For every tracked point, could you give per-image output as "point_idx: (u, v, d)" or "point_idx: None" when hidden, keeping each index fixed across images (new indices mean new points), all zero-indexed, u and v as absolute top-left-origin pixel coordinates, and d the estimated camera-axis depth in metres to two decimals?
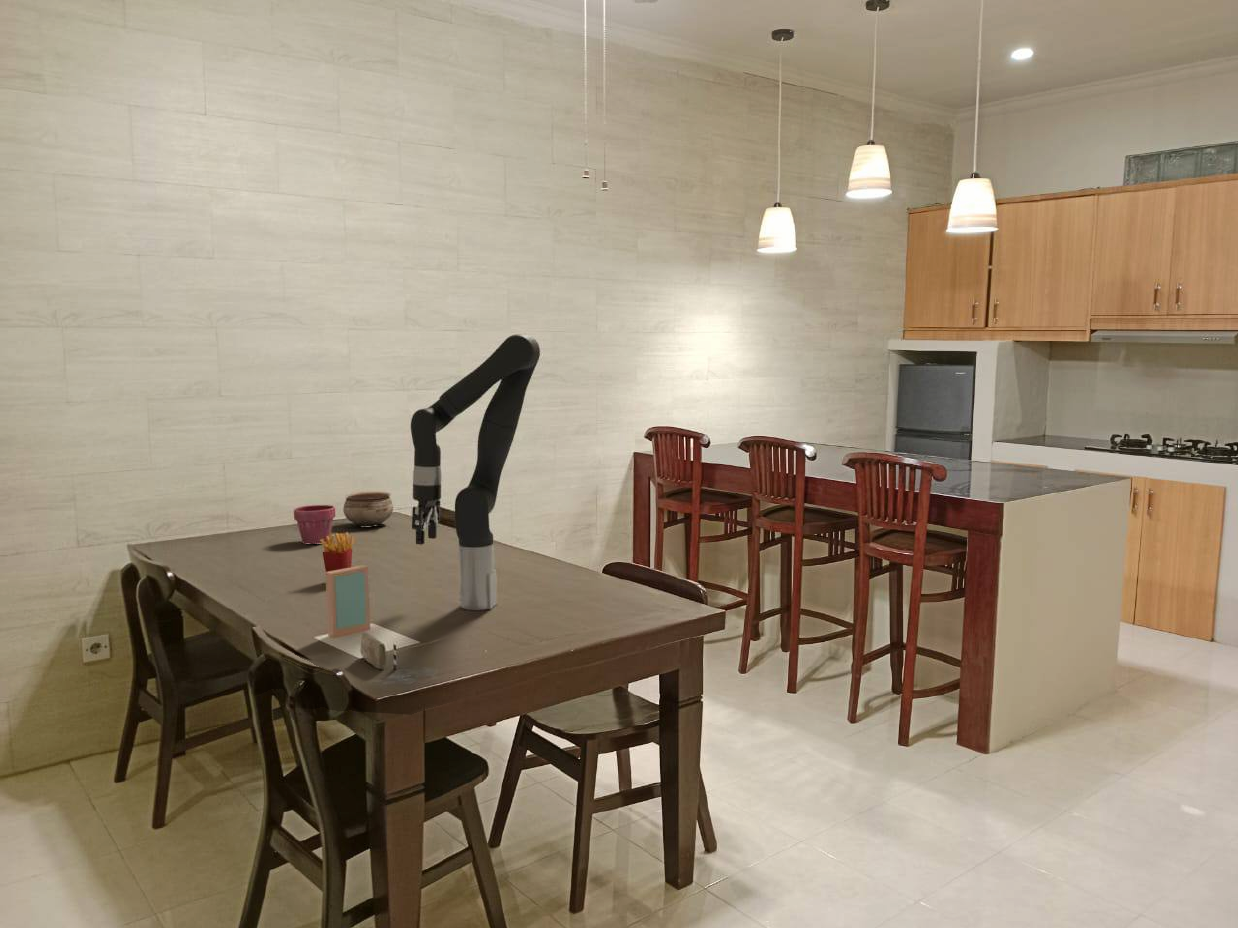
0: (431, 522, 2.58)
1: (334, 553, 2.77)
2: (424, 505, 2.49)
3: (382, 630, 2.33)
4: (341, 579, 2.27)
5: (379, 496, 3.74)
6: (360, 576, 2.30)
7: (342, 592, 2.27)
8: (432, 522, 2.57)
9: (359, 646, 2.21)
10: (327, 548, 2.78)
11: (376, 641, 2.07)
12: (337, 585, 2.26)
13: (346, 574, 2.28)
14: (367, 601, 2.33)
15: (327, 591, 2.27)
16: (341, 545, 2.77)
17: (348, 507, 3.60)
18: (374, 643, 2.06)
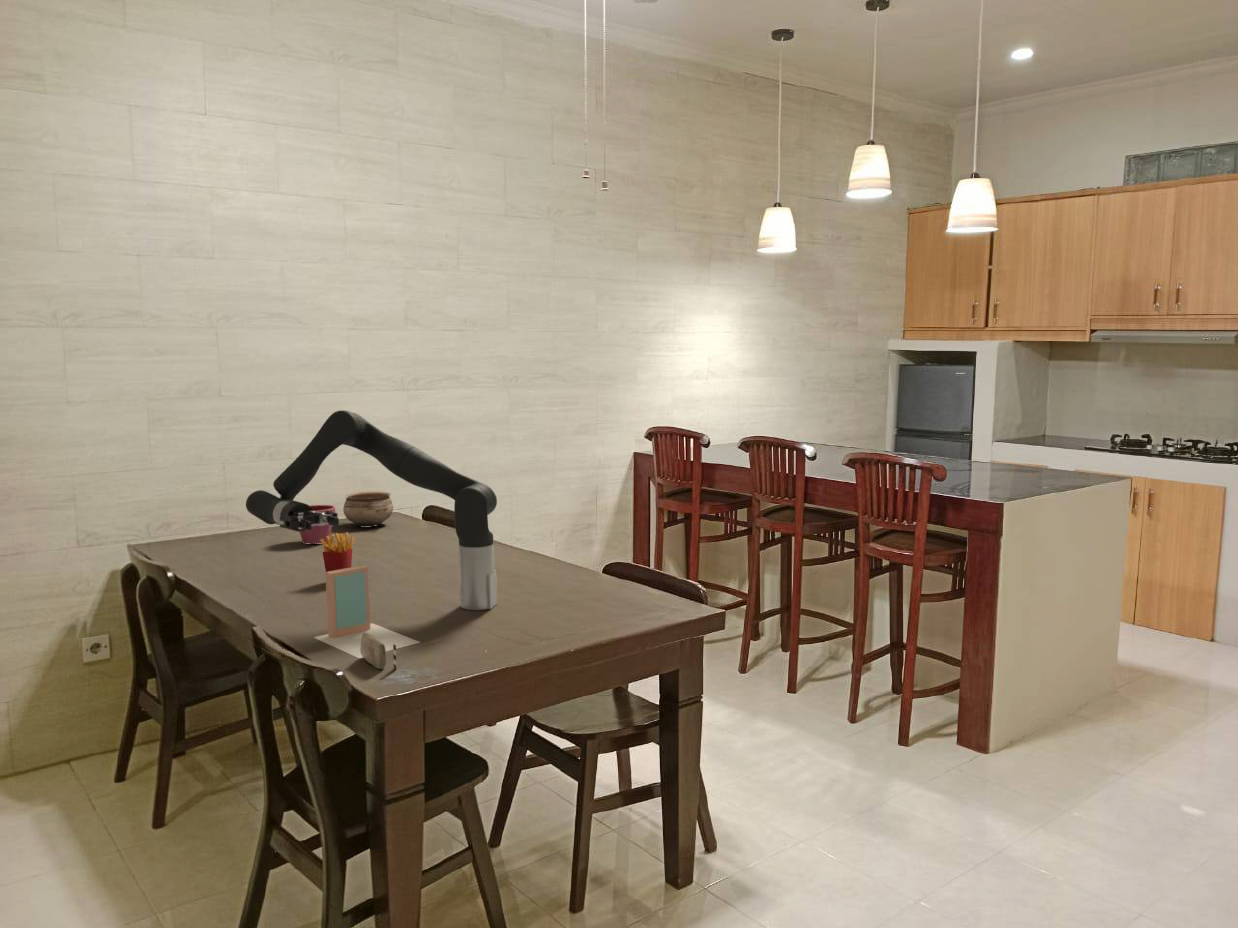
0: (327, 520, 2.41)
1: (334, 553, 2.77)
2: (289, 516, 2.40)
3: (382, 630, 2.33)
4: (341, 579, 2.27)
5: (379, 496, 3.74)
6: (360, 576, 2.30)
7: (342, 592, 2.27)
8: (327, 519, 2.41)
9: (359, 646, 2.21)
10: (327, 548, 2.78)
11: (376, 641, 2.07)
12: (337, 585, 2.26)
13: (346, 574, 2.28)
14: (367, 601, 2.33)
15: (327, 591, 2.27)
16: (341, 545, 2.77)
17: (348, 507, 3.60)
18: (374, 643, 2.06)
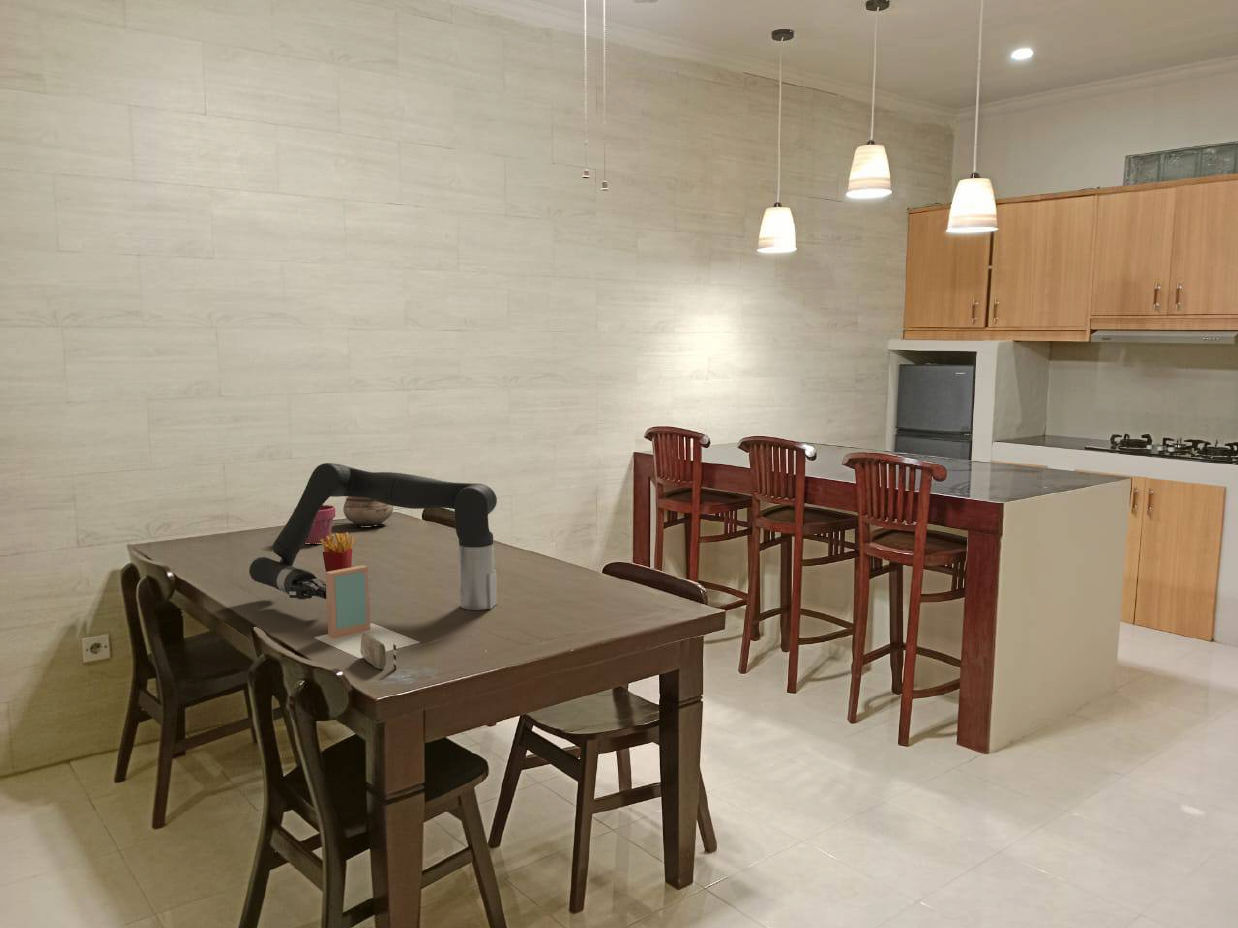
0: None
1: (334, 553, 2.77)
2: (292, 586, 2.42)
3: (382, 630, 2.33)
4: (341, 579, 2.27)
5: None
6: (360, 576, 2.30)
7: (342, 592, 2.27)
8: None
9: (359, 646, 2.21)
10: (327, 548, 2.78)
11: (376, 641, 2.07)
12: (337, 585, 2.26)
13: (346, 574, 2.28)
14: (367, 601, 2.33)
15: (327, 591, 2.27)
16: (341, 545, 2.77)
17: (348, 507, 3.60)
18: (374, 643, 2.06)
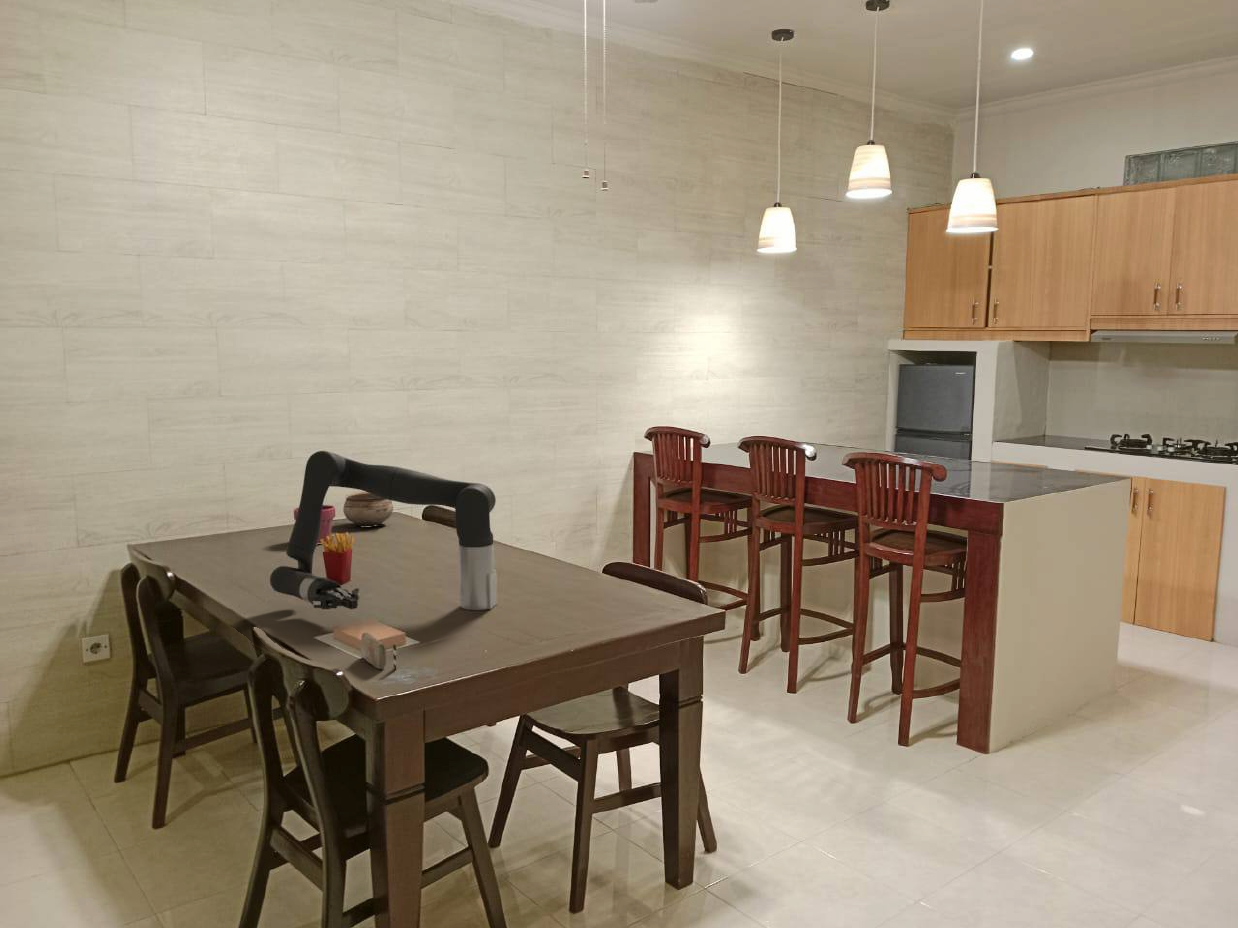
0: None
1: (334, 553, 2.77)
2: (317, 596, 2.33)
3: None
4: None
5: None
6: None
7: None
8: None
9: None
10: (327, 548, 2.78)
11: (376, 641, 2.07)
12: None
13: None
14: None
15: (357, 640, 2.18)
16: (341, 545, 2.77)
17: (348, 507, 3.60)
18: (374, 643, 2.06)
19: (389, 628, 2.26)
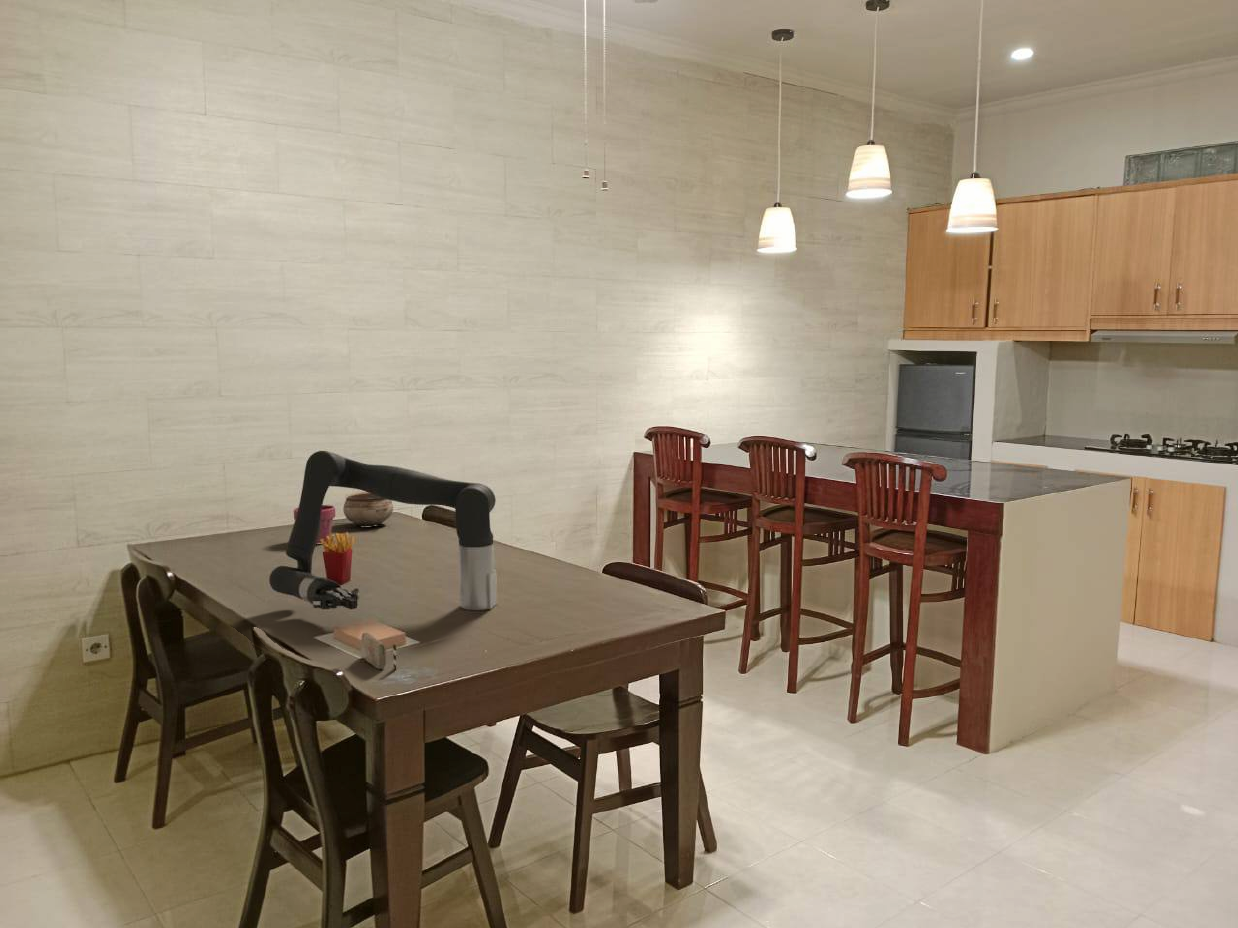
0: None
1: (334, 553, 2.77)
2: (316, 596, 2.33)
3: None
4: None
5: None
6: None
7: None
8: None
9: None
10: (327, 548, 2.78)
11: (376, 641, 2.07)
12: None
13: None
14: None
15: (357, 640, 2.18)
16: (341, 545, 2.77)
17: (348, 507, 3.60)
18: (374, 643, 2.06)
19: (389, 628, 2.26)
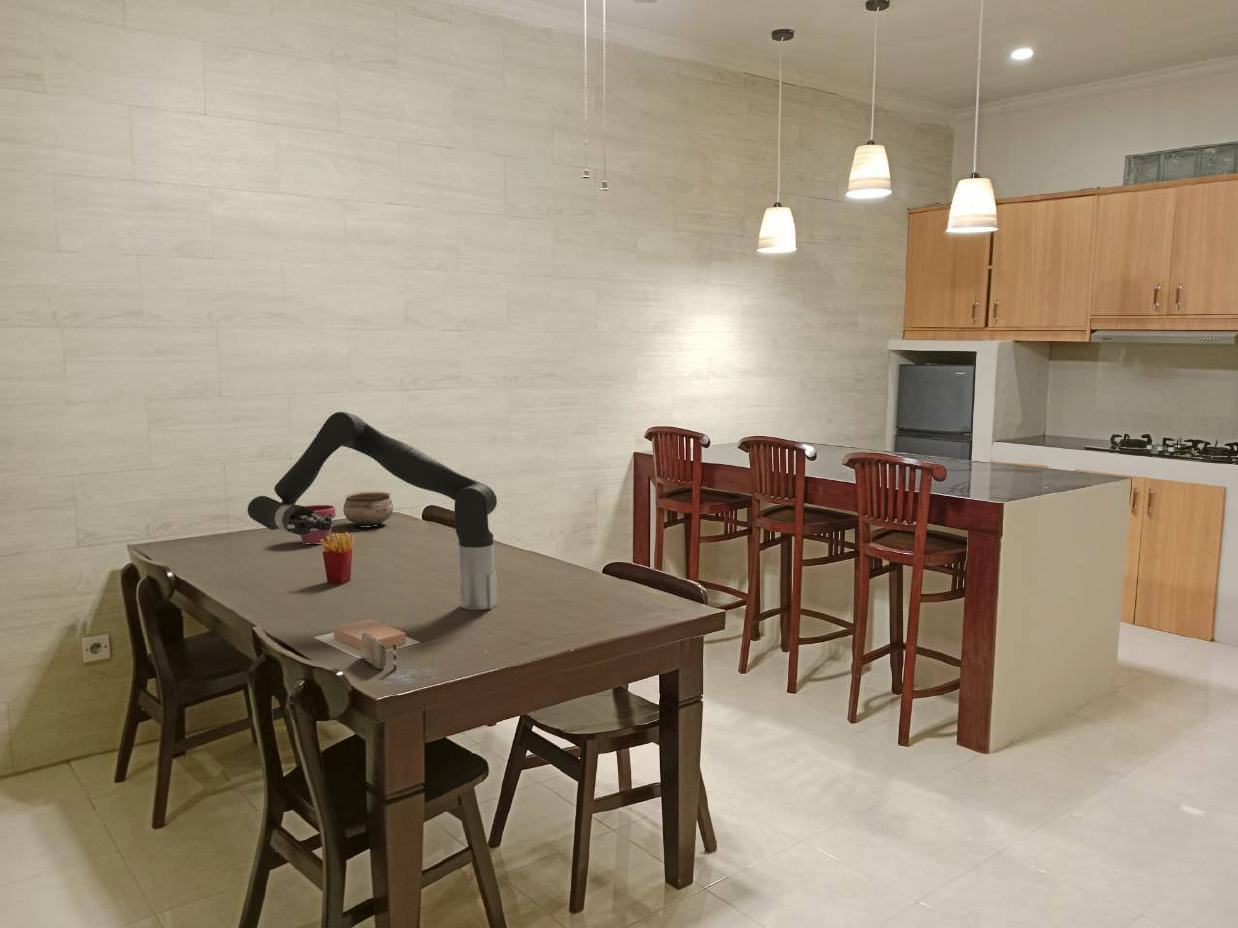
0: None
1: (334, 553, 2.77)
2: (291, 520, 2.39)
3: None
4: None
5: (379, 496, 3.74)
6: None
7: None
8: None
9: None
10: (327, 548, 2.78)
11: (376, 641, 2.07)
12: None
13: None
14: None
15: (357, 640, 2.18)
16: (341, 545, 2.77)
17: (348, 507, 3.60)
18: (374, 643, 2.06)
19: (389, 628, 2.26)
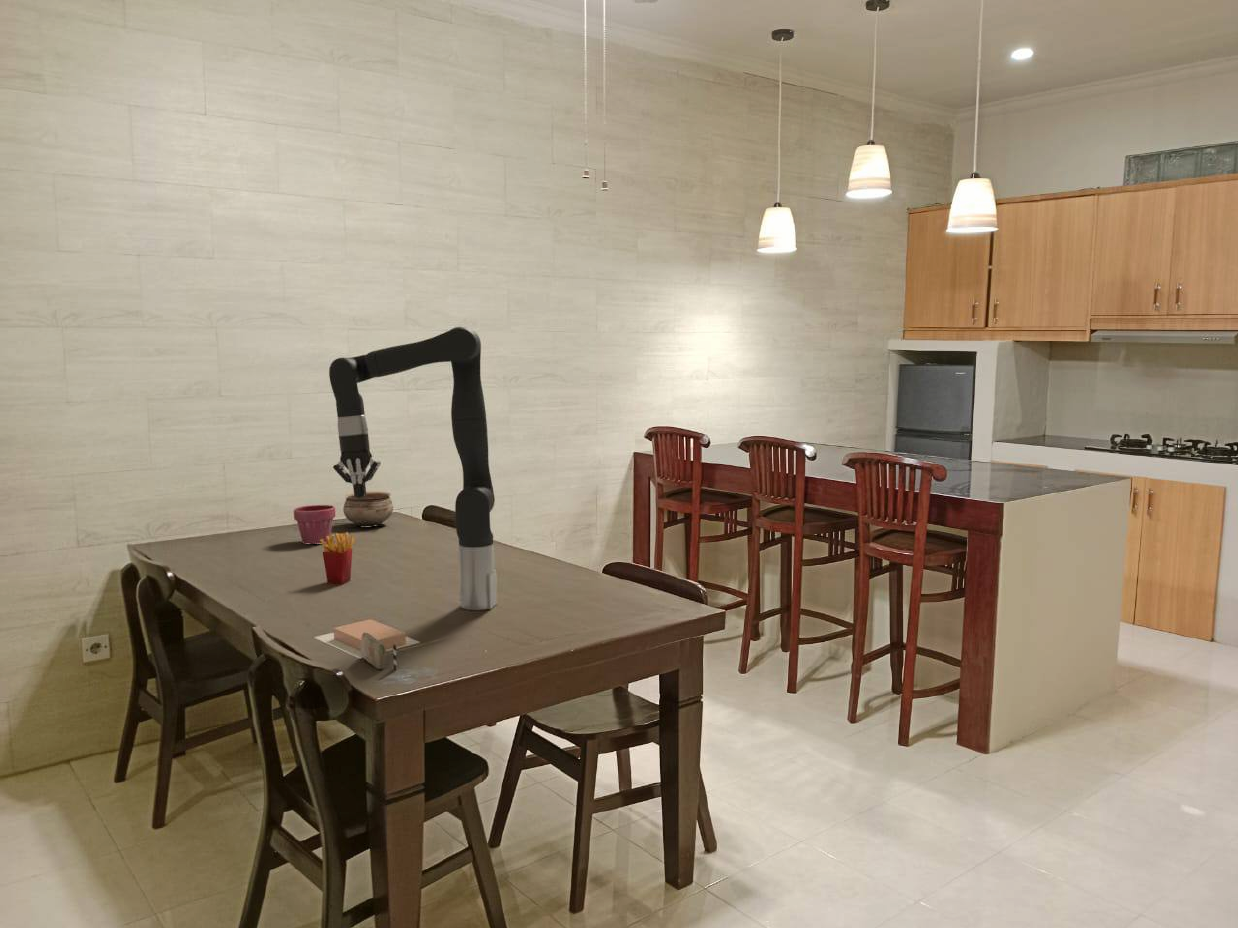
0: None
1: (334, 553, 2.77)
2: None
3: None
4: None
5: (379, 496, 3.74)
6: None
7: None
8: None
9: None
10: (327, 548, 2.78)
11: (376, 641, 2.07)
12: None
13: None
14: None
15: (357, 640, 2.18)
16: (341, 545, 2.77)
17: (348, 507, 3.60)
18: (374, 643, 2.06)
19: (389, 628, 2.26)
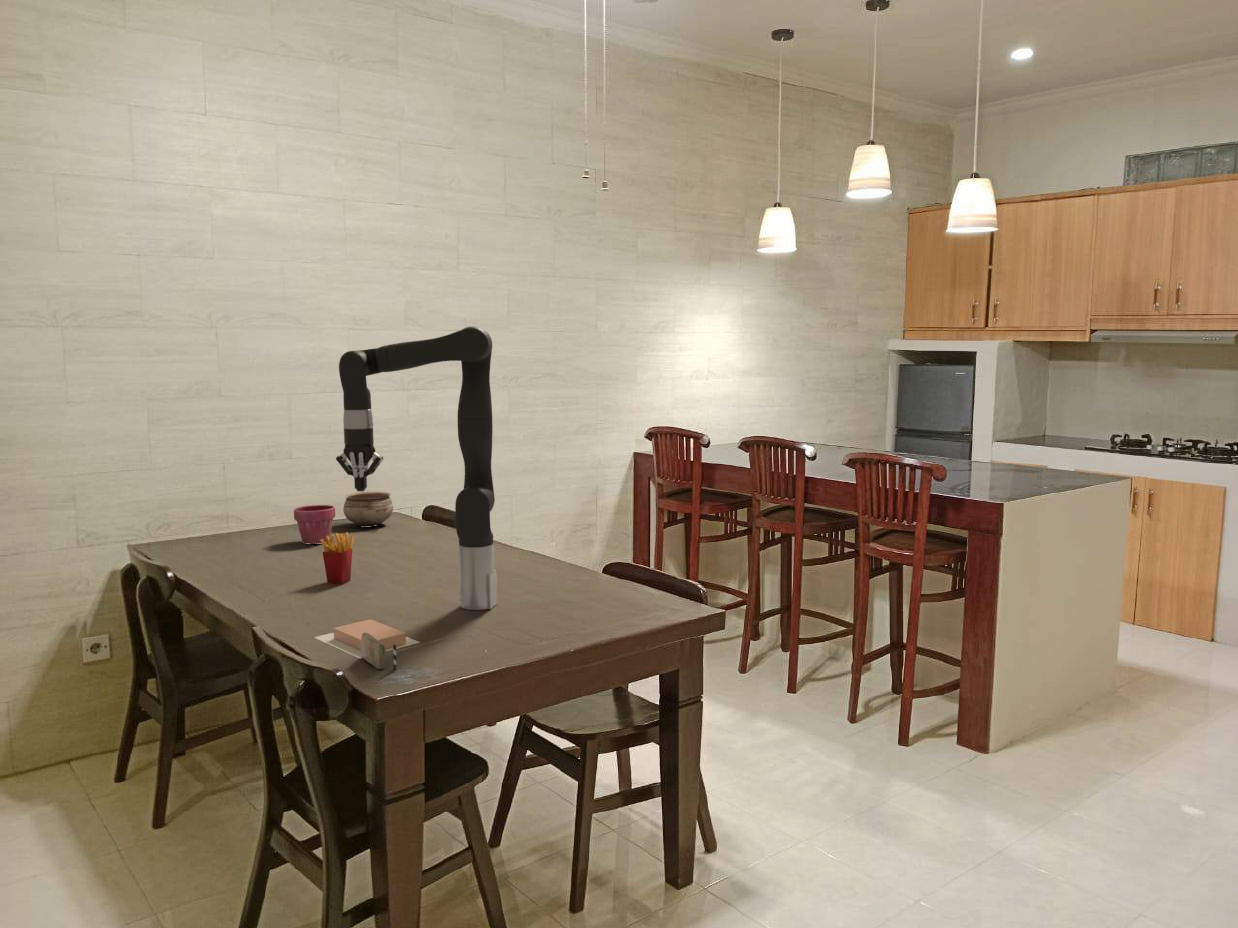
0: None
1: (334, 553, 2.77)
2: (343, 450, 2.49)
3: None
4: None
5: (379, 496, 3.74)
6: None
7: None
8: None
9: None
10: (327, 548, 2.78)
11: (376, 641, 2.07)
12: None
13: None
14: None
15: (357, 640, 2.18)
16: (341, 545, 2.77)
17: (348, 507, 3.60)
18: (374, 643, 2.06)
19: (389, 628, 2.26)
